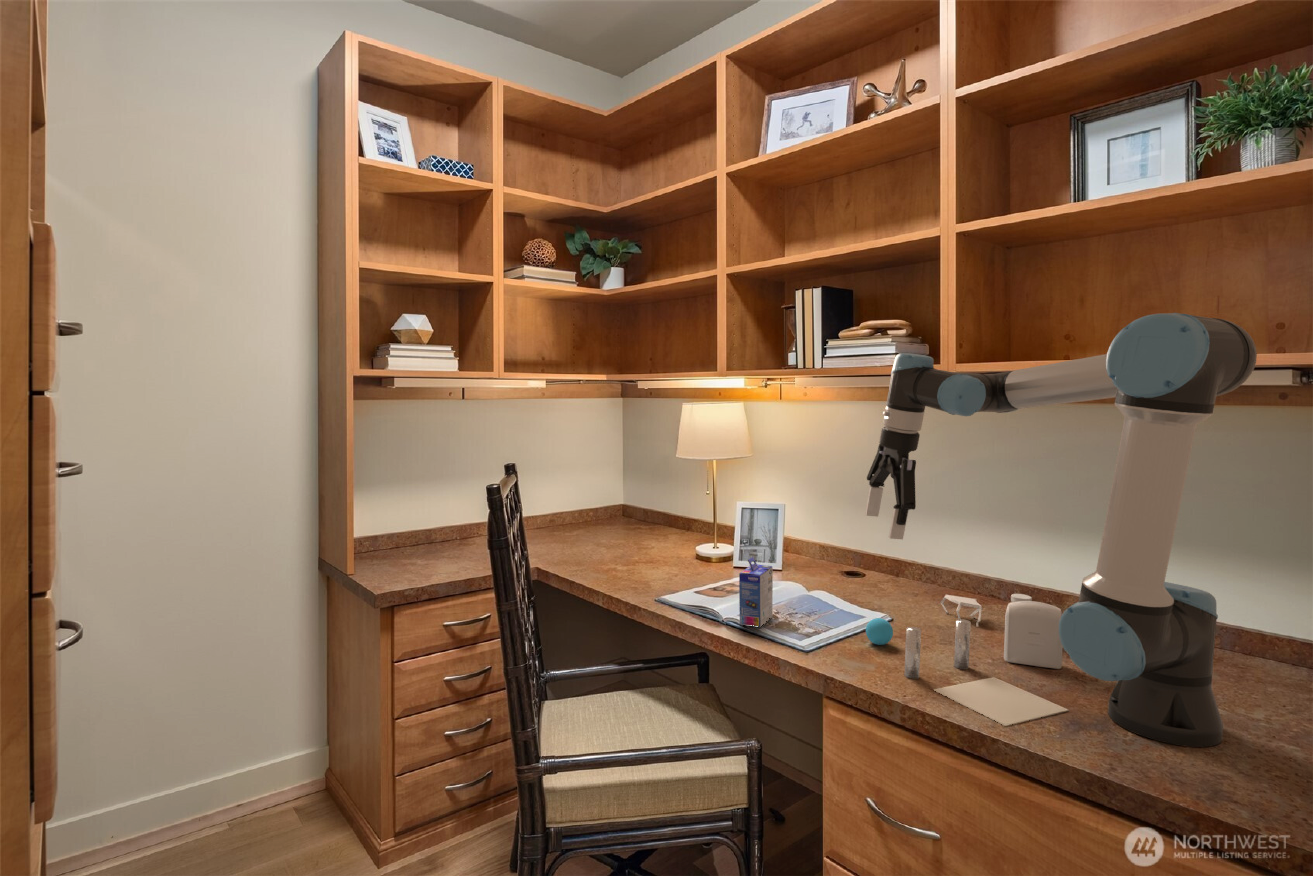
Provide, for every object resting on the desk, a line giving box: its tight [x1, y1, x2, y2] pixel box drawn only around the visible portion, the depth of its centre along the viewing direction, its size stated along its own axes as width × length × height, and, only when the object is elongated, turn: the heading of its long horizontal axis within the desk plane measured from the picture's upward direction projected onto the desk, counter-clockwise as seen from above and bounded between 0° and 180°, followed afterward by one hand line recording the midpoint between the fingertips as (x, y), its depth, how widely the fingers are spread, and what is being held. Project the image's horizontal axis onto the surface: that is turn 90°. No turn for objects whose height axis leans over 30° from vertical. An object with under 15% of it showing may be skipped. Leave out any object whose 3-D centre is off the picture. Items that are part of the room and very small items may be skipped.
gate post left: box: [904, 626, 922, 680], centre depth 135 cm, size 3×3×9 cm
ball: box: [865, 617, 894, 646], centre depth 152 cm, size 6×6×6 cm
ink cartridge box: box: [738, 556, 774, 628], centre depth 166 cm, size 10×6×14 cm, turn 155°
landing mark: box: [933, 676, 1070, 727], centre depth 125 cm, size 15×15×1 cm
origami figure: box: [940, 594, 984, 627], centre depth 171 cm, size 12×8×5 cm
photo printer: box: [1003, 601, 1064, 670], centre depth 142 cm, size 10×4×12 cm, turn 66°
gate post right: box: [953, 618, 971, 670], centre depth 140 cm, size 3×3×9 cm
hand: (883, 526), depth 152 cm, fingers open, 13 cm apart
